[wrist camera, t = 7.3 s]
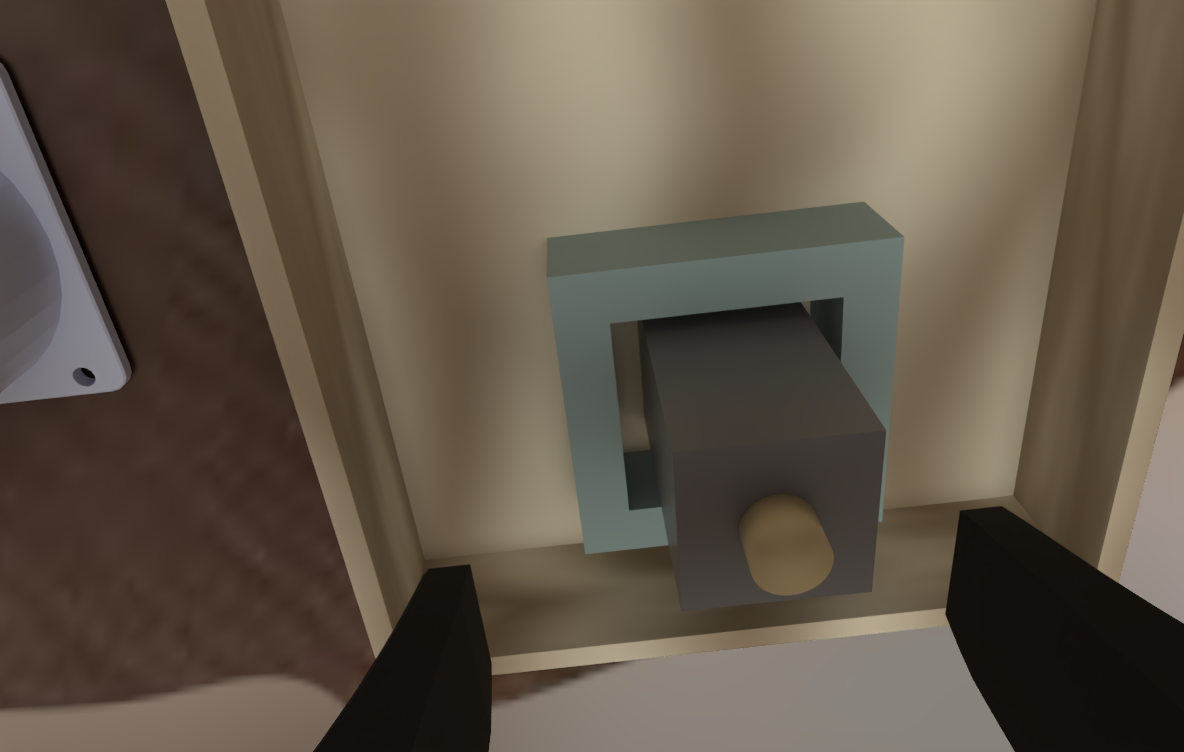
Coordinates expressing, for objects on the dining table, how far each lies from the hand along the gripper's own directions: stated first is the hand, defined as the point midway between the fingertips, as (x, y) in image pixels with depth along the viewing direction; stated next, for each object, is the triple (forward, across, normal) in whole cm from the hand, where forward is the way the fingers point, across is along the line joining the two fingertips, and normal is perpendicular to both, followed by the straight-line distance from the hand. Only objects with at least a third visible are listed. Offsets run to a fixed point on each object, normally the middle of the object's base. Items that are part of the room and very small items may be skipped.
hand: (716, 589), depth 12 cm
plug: (+9, -2, +1) cm, 9 cm away
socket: (+10, -2, +1) cm, 10 cm away
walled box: (+10, -2, -3) cm, 10 cm away
